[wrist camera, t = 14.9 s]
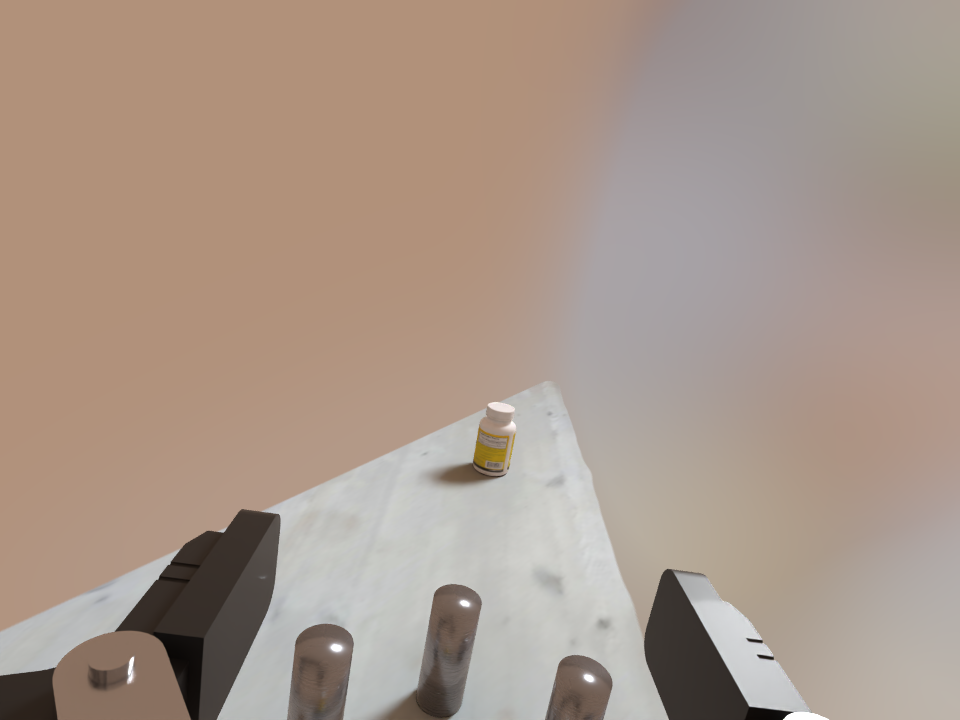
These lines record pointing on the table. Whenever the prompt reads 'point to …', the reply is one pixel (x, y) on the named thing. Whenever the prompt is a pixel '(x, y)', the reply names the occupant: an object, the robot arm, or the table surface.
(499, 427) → the supplement bottle
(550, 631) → the table surface
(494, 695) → the table surface
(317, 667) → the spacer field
